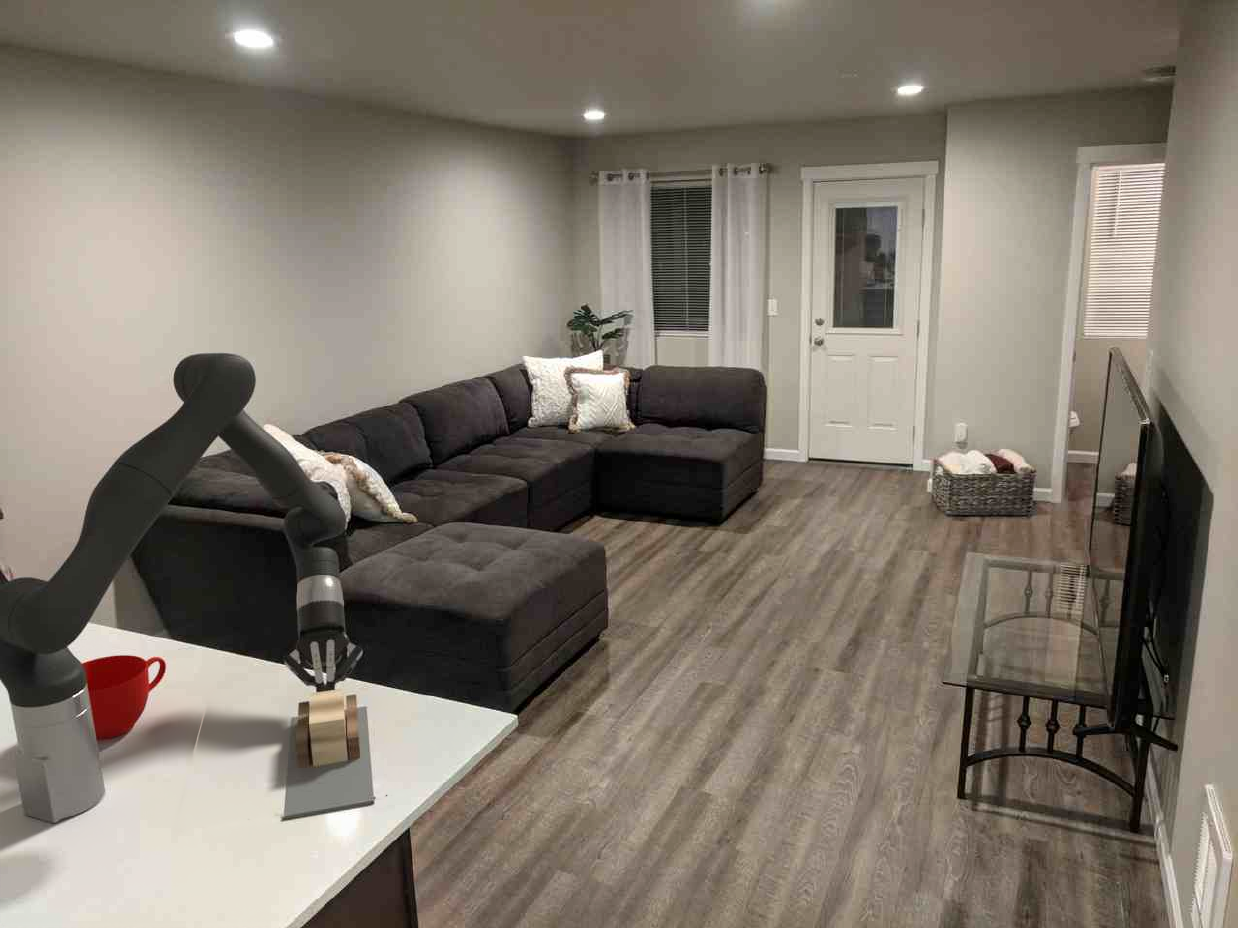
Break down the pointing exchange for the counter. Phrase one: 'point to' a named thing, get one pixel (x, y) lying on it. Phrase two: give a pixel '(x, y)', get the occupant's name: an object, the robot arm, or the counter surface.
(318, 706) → the oak block
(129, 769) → the counter surface
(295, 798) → the chute board
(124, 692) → the ceramic cup
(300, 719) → the chute rails
